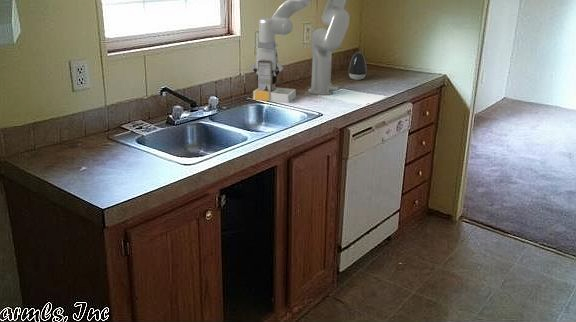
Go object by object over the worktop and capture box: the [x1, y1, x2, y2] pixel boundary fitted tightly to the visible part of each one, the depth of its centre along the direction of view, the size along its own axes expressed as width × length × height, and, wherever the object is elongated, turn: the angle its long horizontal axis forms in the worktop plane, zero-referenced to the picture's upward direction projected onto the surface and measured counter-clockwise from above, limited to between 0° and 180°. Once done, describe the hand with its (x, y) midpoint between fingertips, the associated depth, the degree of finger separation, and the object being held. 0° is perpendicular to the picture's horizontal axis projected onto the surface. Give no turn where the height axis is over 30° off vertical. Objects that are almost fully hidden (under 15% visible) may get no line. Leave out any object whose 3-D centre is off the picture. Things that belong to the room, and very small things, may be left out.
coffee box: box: [257, 60, 276, 93], centre depth 258 cm, size 9×6×16 cm
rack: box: [252, 86, 297, 104], centre depth 259 cm, size 18×13×4 cm
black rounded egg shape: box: [347, 51, 367, 81], centre depth 303 cm, size 10×10×15 cm
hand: (266, 82), depth 259 cm, fingers closed on coffee box, 6 cm apart
